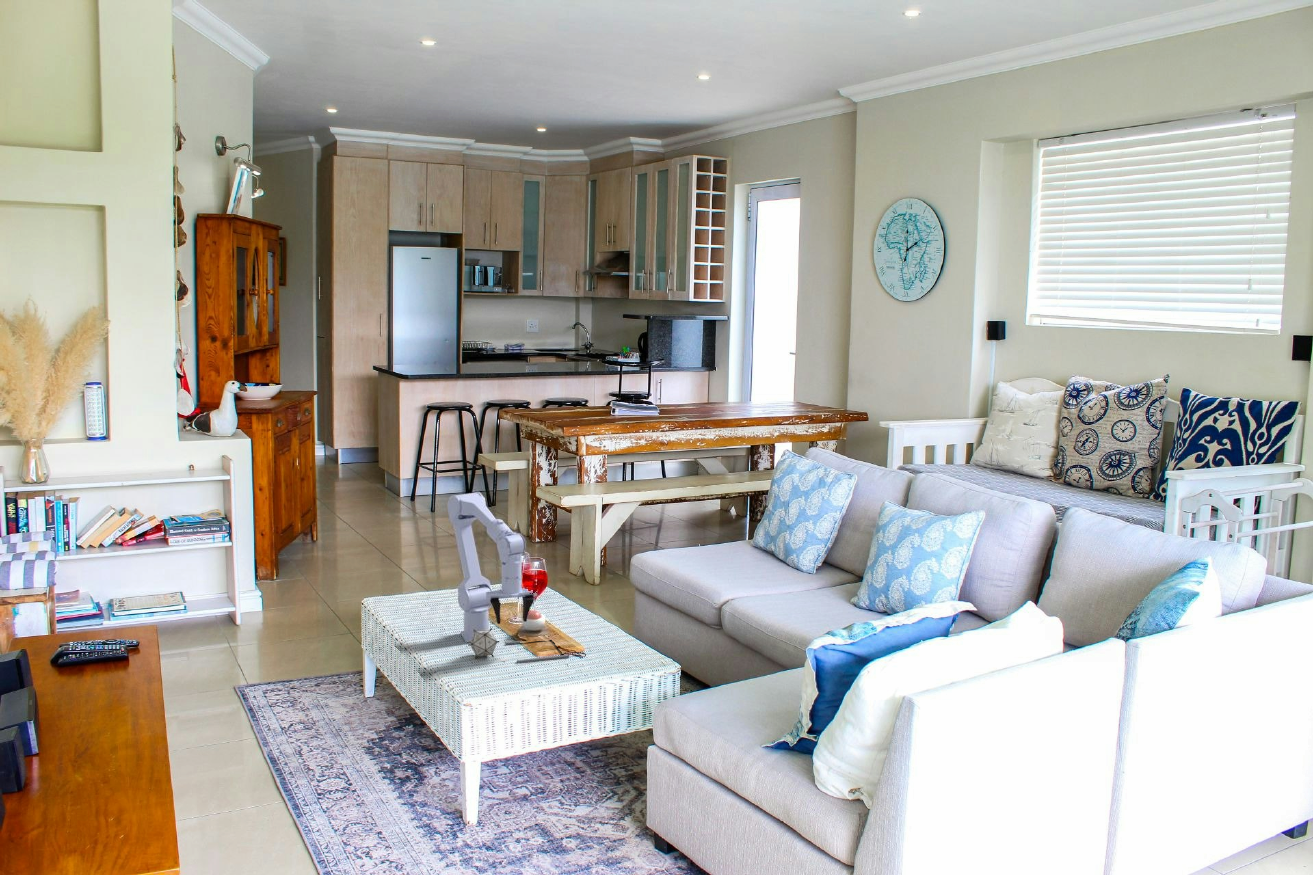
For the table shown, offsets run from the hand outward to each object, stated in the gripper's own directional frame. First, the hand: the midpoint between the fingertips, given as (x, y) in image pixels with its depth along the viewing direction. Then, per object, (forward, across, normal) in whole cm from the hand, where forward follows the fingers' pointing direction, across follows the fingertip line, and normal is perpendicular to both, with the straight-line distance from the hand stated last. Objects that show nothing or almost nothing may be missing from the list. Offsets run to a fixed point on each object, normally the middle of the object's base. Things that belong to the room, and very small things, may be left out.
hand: (511, 621), depth 302 cm
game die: (+10, -8, 0) cm, 13 cm away
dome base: (+10, +10, +14) cm, 20 cm away
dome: (+7, +10, +14) cm, 19 cm away
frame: (+10, +7, 0) cm, 12 cm away
